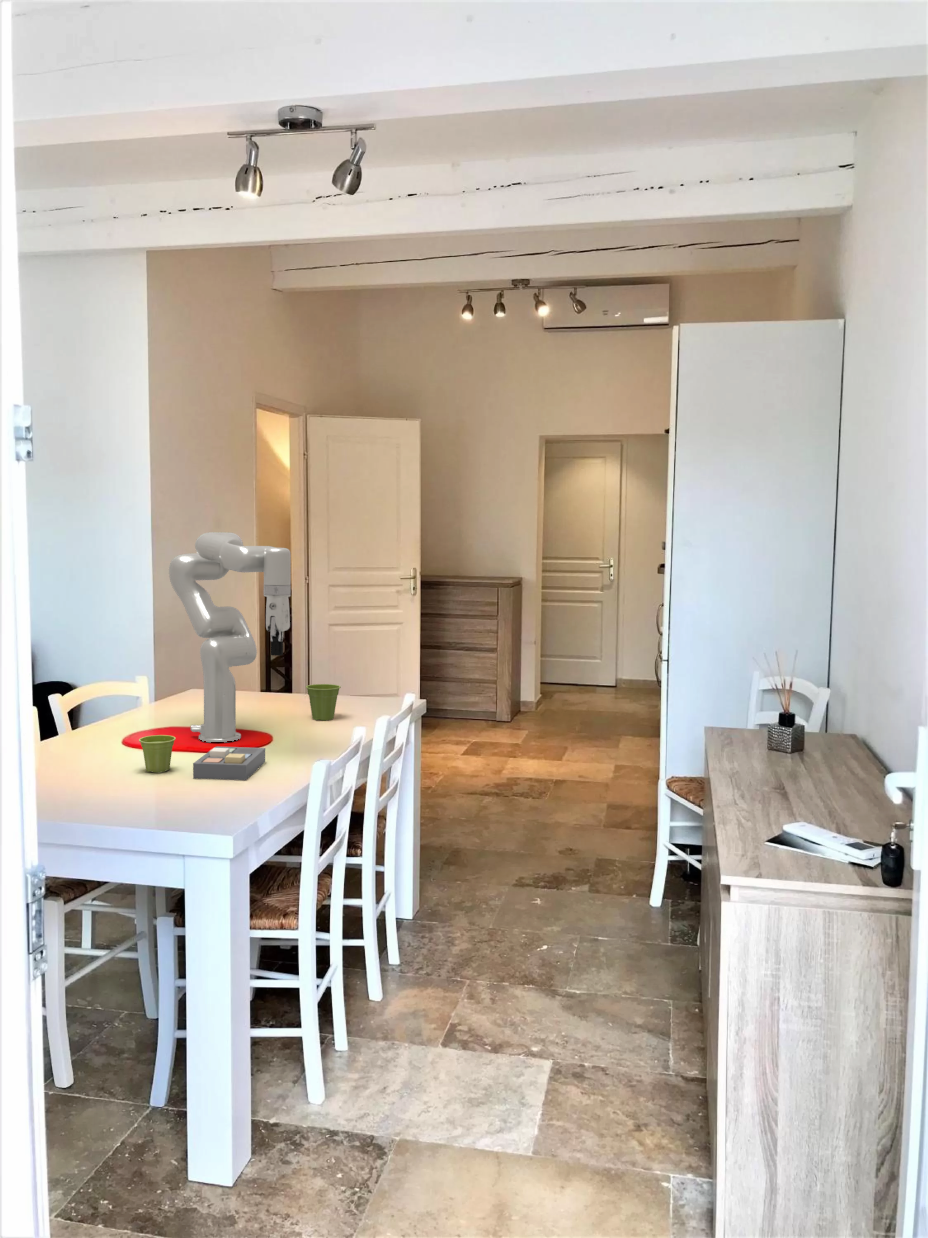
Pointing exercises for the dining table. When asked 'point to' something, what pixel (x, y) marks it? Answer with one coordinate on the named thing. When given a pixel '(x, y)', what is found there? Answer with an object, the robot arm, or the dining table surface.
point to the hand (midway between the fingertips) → (276, 655)
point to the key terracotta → (213, 760)
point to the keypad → (230, 765)
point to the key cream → (219, 752)
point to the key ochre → (235, 758)
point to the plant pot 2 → (323, 700)
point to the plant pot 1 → (157, 752)
